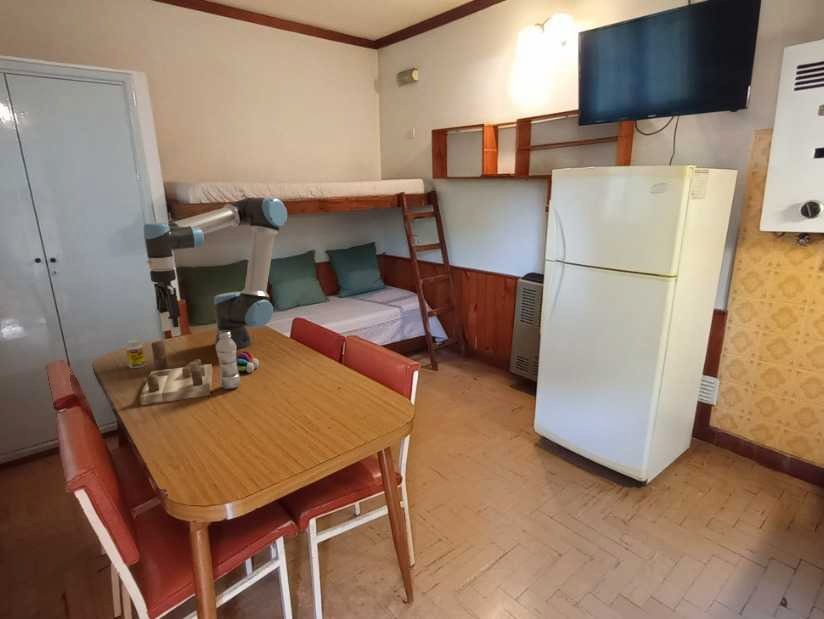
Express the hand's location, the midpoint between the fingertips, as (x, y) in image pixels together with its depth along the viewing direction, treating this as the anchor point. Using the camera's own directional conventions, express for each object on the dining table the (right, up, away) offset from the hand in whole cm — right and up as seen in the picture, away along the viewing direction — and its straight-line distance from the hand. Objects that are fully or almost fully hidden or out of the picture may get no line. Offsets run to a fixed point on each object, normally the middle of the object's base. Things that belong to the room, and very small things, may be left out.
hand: (171, 333), depth 161 cm
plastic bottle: (+22, -19, -3) cm, 29 cm away
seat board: (+4, -18, -2) cm, 19 cm away
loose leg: (-10, -15, +12) cm, 22 cm away
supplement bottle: (-22, -14, +17) cm, 31 cm away
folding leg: (+7, -14, +2) cm, 16 cm away
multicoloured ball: (+22, -15, +12) cm, 29 cm away
